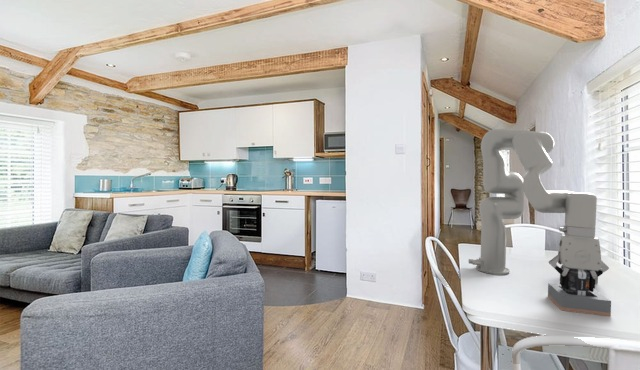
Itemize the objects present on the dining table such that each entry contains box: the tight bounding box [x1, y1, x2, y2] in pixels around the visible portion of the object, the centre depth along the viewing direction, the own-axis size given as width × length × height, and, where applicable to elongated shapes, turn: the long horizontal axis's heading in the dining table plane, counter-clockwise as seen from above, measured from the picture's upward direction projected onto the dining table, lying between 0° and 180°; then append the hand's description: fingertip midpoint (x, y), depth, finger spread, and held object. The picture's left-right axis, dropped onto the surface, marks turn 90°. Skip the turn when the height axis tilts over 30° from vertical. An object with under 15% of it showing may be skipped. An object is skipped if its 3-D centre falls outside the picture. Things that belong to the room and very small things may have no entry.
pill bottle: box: [565, 269, 590, 296], centre depth 102 cm, size 6×6×11 cm
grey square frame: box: [547, 282, 612, 317], centre depth 102 cm, size 12×12×4 cm
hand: (576, 288), depth 102 cm, fingers closed on pill bottle, 6 cm apart
